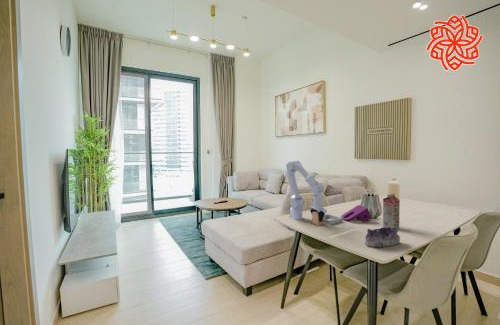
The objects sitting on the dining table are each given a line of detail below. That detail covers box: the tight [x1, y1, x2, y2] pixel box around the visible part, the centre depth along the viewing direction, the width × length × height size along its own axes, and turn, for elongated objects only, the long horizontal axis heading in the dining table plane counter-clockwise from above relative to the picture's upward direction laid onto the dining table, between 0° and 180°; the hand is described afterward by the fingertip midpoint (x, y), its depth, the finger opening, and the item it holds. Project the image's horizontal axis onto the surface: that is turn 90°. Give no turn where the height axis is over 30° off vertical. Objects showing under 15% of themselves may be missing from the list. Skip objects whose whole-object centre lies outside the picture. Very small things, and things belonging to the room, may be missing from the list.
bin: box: [323, 213, 343, 226], centre depth 168 cm, size 13×12×4 cm
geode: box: [364, 226, 401, 249], centre depth 129 cm, size 20×12×10 cm, turn 114°
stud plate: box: [309, 221, 327, 227], centre depth 163 cm, size 9×9×4 cm
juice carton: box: [382, 193, 401, 230], centre depth 154 cm, size 7×7×22 cm
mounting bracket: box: [340, 204, 371, 223], centre depth 171 cm, size 10×9×19 cm
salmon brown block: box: [311, 210, 324, 225], centre depth 163 cm, size 5×5×8 cm
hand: (317, 220), depth 163 cm, fingers closed on salmon brown block, 5 cm apart
